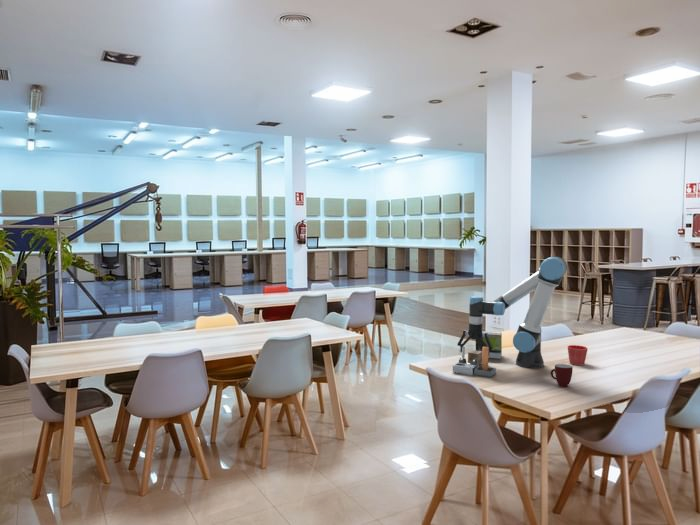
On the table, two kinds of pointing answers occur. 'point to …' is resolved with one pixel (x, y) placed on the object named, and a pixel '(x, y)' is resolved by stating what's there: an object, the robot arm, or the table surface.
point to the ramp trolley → (465, 366)
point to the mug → (562, 374)
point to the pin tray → (485, 372)
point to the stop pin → (485, 358)
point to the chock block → (475, 356)
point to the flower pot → (577, 354)
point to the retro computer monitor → (496, 344)
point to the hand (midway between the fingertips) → (474, 359)
